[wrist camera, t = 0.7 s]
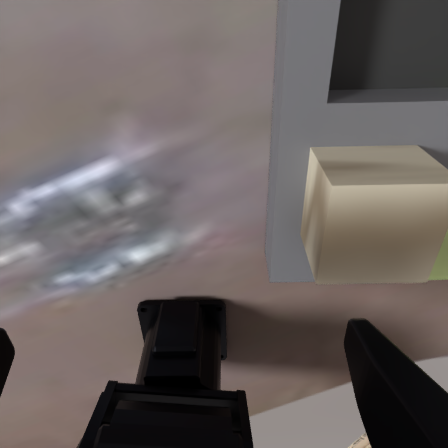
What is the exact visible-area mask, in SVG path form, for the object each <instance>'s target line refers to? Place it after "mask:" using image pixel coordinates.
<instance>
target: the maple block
mask: <svg viewBox="0 0 448 448" xmlns="http://www.w3.org/2000/svg"><path fill="white" fill-rule="evenodd" d="M447 230H448V169H447V168H445V167H444V166H443V165H442V164H440V163H439V162H438V161H437V160H435V159H434V158H433V157H432V156H430V155H429V154H428V153H427V152H425V151H424V150H423V149H421V148H420V147H419V146H418V145H395V146H344V147H310V155H309V164H308V172H307V181H306V189H305V198H304V206H303V215H302V223H301V232H300V235H301V238H302V242H303V245H304V248H305V251H306V254H307V257H308V261H309V264H310V267H311V270H312V273H313V277H314V280H315V283H316V284H382V283H427V281H428V279H429V276H430V273H431V271H432V268H433V266H434V263H435V261H436V258H437V255H438V253H439V250H440V248H441V245H442V243H443V240H444V237H445V235H446V232H447Z"/></svg>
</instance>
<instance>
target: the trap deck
mask: <svg viewBox="0 0 448 448" xmlns="http://www.w3.org/2000/svg"><path fill="white" fill-rule="evenodd" d="M395 145H418V146H419V147H420V148H421V149H423V150H424V151H425V152H427V153H428V154H429V155H430V156H432V157H433V158H434V159H435V160H437V161H438V162H439V163H440V164H442V165H443V166H444V167H445V168H447V169H448V0H278V14H277V33H276V52H275V71H274V90H273V109H272V128H271V147H270V166H269V185H268V204H267V223H266V242H265V255H266V262H267V268H268V275H269V281H270V282H315V280H314V277H313V273H312V270H311V267H310V264H309V261H308V257H307V254H306V251H305V248H304V245H303V242H302V238H301V235H300V232H301V223H302V215H303V206H304V198H305V189H306V181H307V172H308V164H309V155H310V147H344V146H395ZM428 280H448V230H447V232H446V235H445V237H444V240H443V243H442V245H441V248H440V250H439V253H438V255H437V258H436V261H435V263H434V266H433V268H432V271H431V273H430V276H429V279H428Z"/></svg>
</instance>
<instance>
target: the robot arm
mask: <svg viewBox="0 0 448 448" xmlns="http://www.w3.org/2000/svg"><path fill="white" fill-rule="evenodd" d="M145 308H146V309H145ZM137 312H138V316H139V321H140V325H141V330H142V334H143V339H144V347H143V352H142V356H141V361H140V365H139V369H138V374H137V378H136V382H135V384H130V383H118V381H110V380H109V381H108V383H107V386H106V388H105V391H104V392H102V393H101V395H100V397H99V400H98V403H97V405H96V407H95V410H94V412H93V414H92V417H91V419H90V421H89V424H88V426H87V428H86V431H85V433H84V436H83V438H82V439H81V441H80V443H79V444H78V446H77V448H253V441H252V435H251V427H250V420H249V413H248V407H247V400H246V393H245V391H244V390H237V391H224V390H220V383H221V360H225V359H226V357H227V343H226V305H225V303H224V302H223V301H221V300H200V301H143V302H140V303H139V304H138V308H137ZM344 349H345V353H346V358H347V362H348V367H349V371H350V375H351V380H352V384H353V388H354V393H355V398H356V402H357V406H358V409H359V412H360V415H361V418H362V422H363V424H364V427H365V430H366V433H367V436H368V439H369V442H370V445H371V448H448V393H447V392H446V391H445V390H444V389H443V388H442V387H441V386H440V385H438V384H437V383H436V382H435V381H434V380H433V379H432V378H430V377H429V376H428V375H427V374H426V373H425V372H424V371H423V370H422V369H421V368H419V367H418V366H417V365H416V364H415V363H414V362H413V361H412V360H411V359H410V358H409V357H408V356H406V355H405V354H404V353H403V352H402V351H401V350H400V349H399V348H398V347H397V346H395V345H394V344H393V343H392V342H391V341H390V340H389V339H388V338H387V337H386V336H384V335H383V334H382V333H381V332H380V331H379V330H378V329H377V328H376V327H375V326H373V325H372V324H371V323H370V322H369V321H368V320H366V319H350V320H349V321H348V324H347V329H346V334H345V339H344ZM14 355H15V349H14V346H13V344H12V342H11V340H10V338H9V336H8V335H7V333H6V331H5V330H4V329H3V328H0V396H1V394H2V391H3V388H4V385H5V382H6V379H7V376H8V373H9V371H10V368H11V365H12V362H13V359H14Z"/></svg>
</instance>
